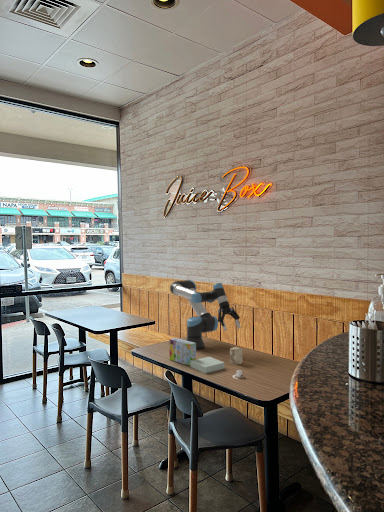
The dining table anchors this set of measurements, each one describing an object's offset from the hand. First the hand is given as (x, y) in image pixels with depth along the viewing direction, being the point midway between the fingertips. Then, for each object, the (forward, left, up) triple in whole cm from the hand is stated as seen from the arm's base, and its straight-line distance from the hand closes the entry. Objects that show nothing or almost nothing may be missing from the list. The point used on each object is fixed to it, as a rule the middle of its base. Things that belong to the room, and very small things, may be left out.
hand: (232, 329), depth 291 cm
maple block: (+17, -12, -18) cm, 28 cm away
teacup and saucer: (+39, -26, -19) cm, 51 cm away
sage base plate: (+13, -34, -18) cm, 41 cm away
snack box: (-6, -41, -19) cm, 45 cm away
